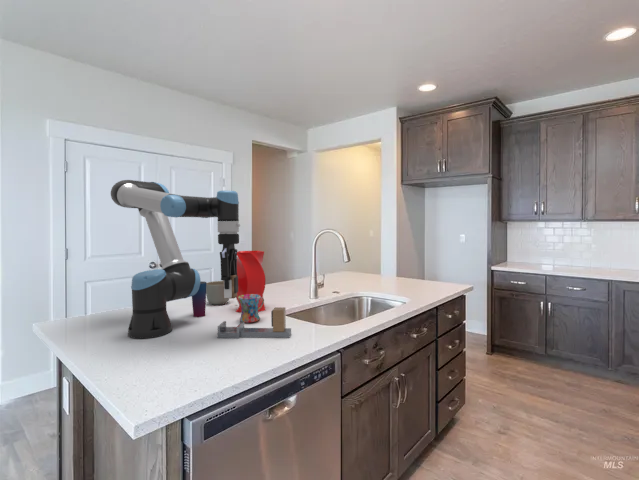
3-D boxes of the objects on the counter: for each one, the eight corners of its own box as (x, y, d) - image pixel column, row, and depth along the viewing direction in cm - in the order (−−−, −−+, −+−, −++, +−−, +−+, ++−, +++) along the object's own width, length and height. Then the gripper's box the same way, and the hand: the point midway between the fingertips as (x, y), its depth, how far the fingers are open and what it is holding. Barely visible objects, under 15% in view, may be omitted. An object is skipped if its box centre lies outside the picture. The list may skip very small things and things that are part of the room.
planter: (204, 302, 186) (204, 282, 186) (228, 300, 191) (228, 280, 191) (207, 307, 175) (207, 285, 174) (232, 304, 180) (232, 283, 180)
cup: (188, 316, 157) (187, 283, 157) (198, 313, 164) (197, 281, 163) (200, 318, 155) (199, 284, 154) (210, 314, 161) (209, 281, 160)
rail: (217, 338, 128) (216, 310, 127) (223, 331, 135) (223, 306, 134) (288, 338, 126) (288, 311, 126) (291, 332, 133) (291, 306, 133)
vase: (242, 315, 160) (241, 253, 158) (228, 309, 171) (227, 251, 170) (271, 309, 169) (270, 251, 168) (256, 304, 180) (255, 249, 179)
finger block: (223, 298, 129) (222, 276, 128) (226, 296, 133) (226, 275, 132) (235, 298, 128) (235, 276, 128) (238, 296, 132) (238, 274, 132)
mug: (246, 325, 143) (246, 299, 143) (234, 321, 150) (233, 296, 149) (270, 319, 152) (270, 295, 151) (257, 315, 158) (257, 292, 158)
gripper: (231, 233, 121) (233, 301, 122) (244, 232, 138) (246, 292, 139) (210, 233, 121) (211, 301, 122) (225, 232, 138) (227, 292, 139)
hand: (229, 296), depth 130 cm, fingers closed on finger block, 4 cm apart
